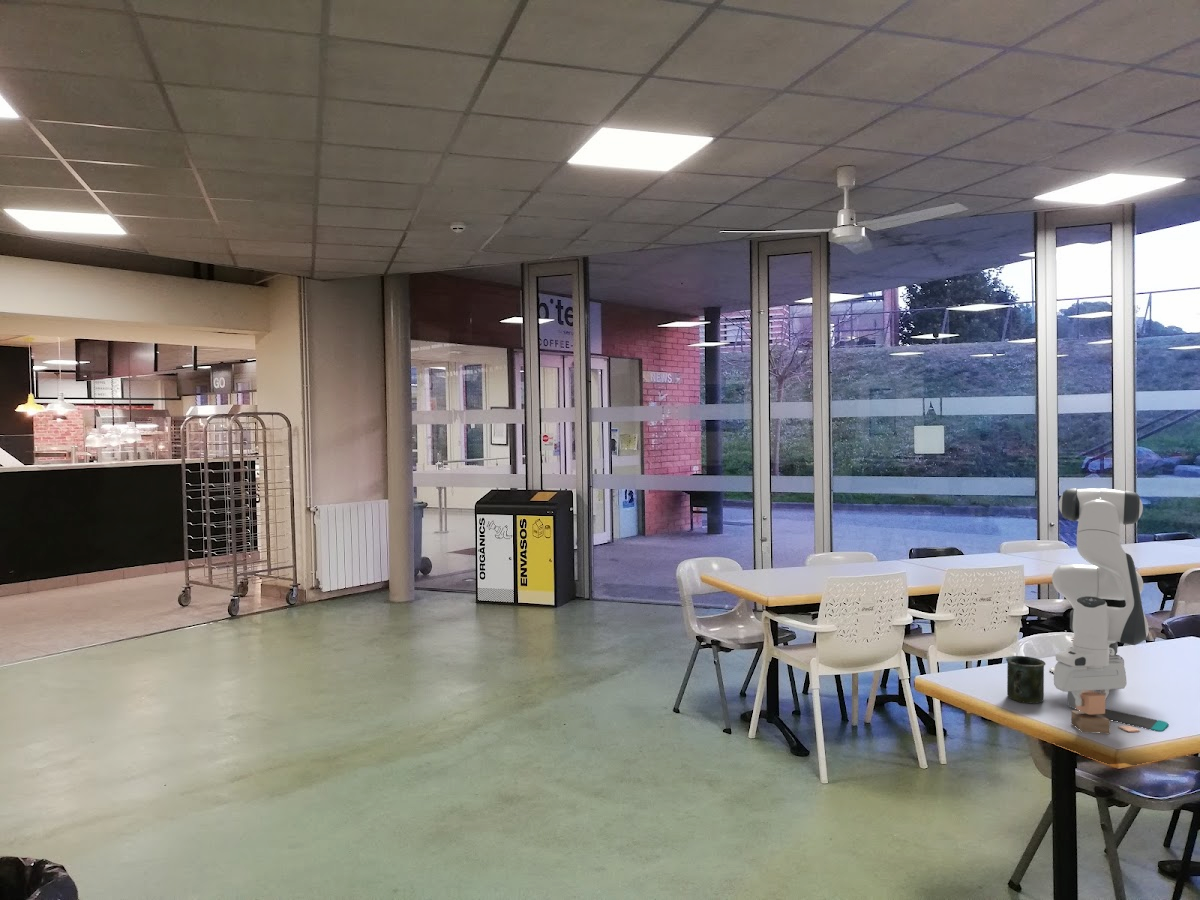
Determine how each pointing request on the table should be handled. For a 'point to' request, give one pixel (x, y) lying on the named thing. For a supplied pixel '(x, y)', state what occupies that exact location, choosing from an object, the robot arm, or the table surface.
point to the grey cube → (1071, 700)
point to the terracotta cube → (1092, 702)
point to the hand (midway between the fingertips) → (1090, 705)
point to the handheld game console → (1136, 720)
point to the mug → (1025, 679)
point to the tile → (1129, 728)
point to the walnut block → (1090, 722)
